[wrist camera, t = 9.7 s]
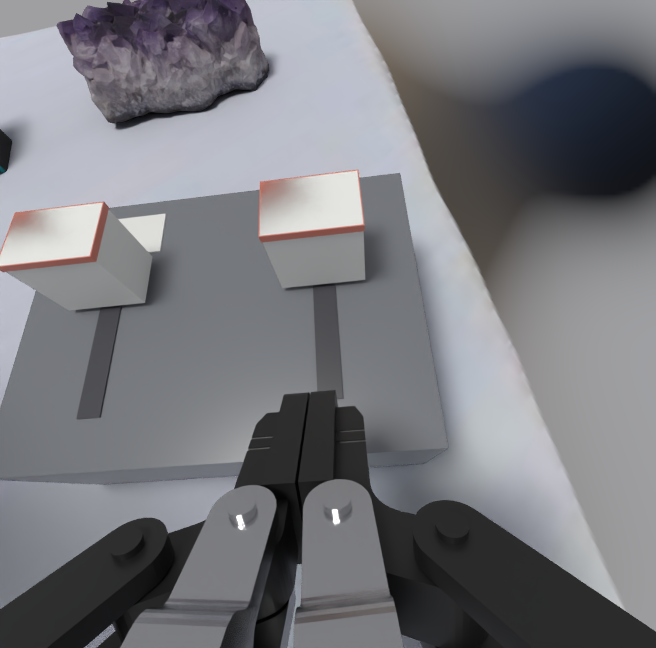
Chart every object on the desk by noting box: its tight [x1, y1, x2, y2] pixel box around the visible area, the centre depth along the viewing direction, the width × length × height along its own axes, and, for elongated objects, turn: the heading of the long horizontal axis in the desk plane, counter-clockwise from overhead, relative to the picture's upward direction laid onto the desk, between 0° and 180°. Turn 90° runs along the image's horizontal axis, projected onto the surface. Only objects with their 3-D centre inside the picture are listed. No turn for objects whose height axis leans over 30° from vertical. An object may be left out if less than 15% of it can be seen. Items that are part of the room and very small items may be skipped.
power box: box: [0, 173, 448, 484], centre depth 25 cm, size 16×22×9 cm
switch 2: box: [258, 170, 365, 288], centre depth 19 cm, size 3×4×4 cm
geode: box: [57, 0, 269, 123], centre depth 40 cm, size 20×12×10 cm, turn 100°
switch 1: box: [0, 202, 152, 310], centre depth 20 cm, size 3×4×4 cm
